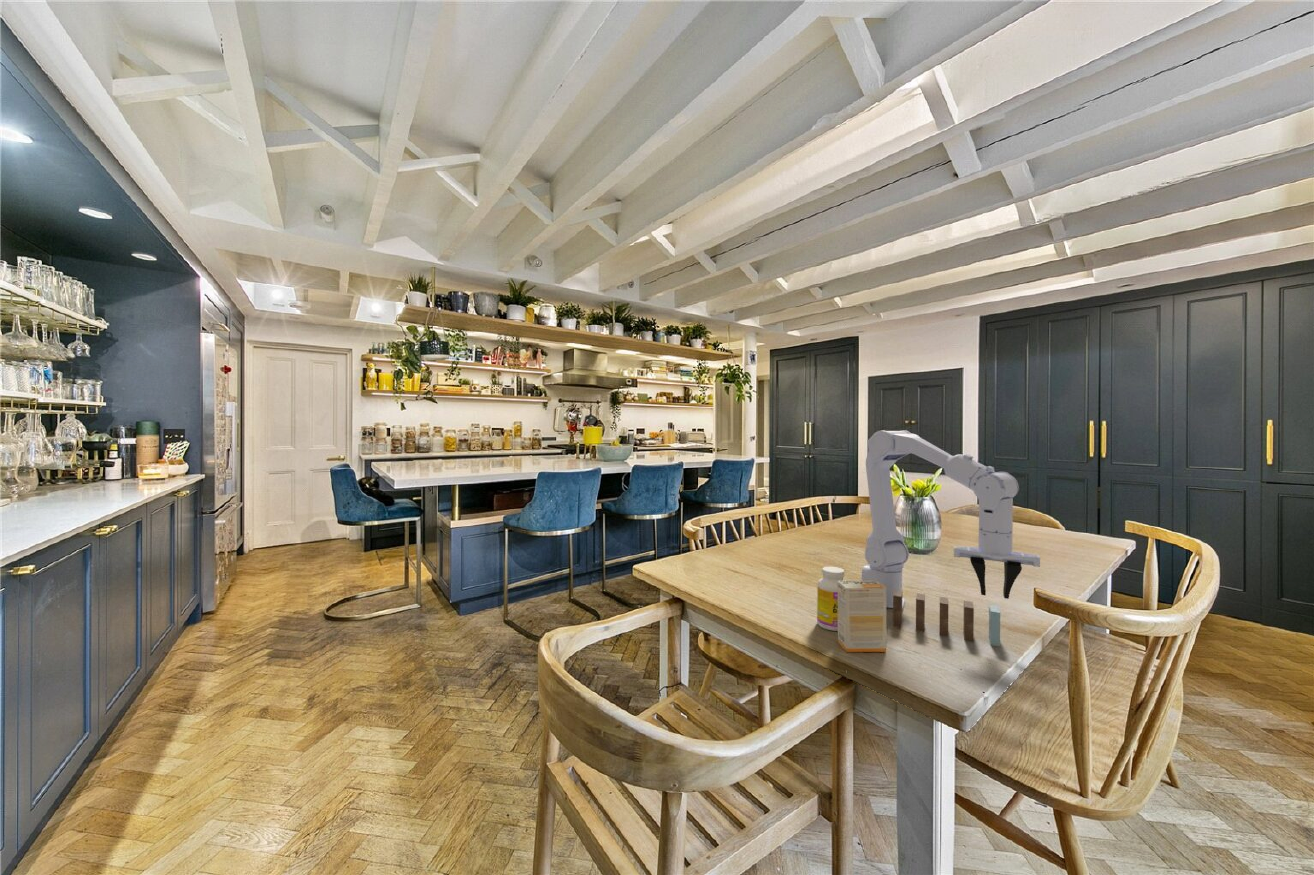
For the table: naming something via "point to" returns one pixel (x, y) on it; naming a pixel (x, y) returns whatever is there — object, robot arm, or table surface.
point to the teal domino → (994, 625)
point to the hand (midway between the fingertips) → (994, 595)
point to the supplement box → (862, 616)
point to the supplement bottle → (828, 598)
